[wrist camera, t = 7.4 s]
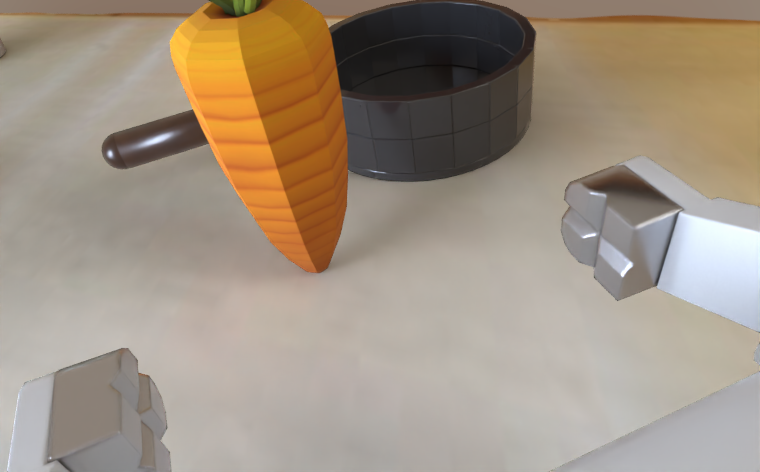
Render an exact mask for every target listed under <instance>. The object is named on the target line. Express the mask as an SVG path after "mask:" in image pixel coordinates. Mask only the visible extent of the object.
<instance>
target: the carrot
mask: <svg viewBox="0 0 760 472" xmlns="http://www.w3.org/2000/svg"><path fill="white" fill-rule="evenodd" d="M209 1H211V2H208V3H206V4H204V5H203V6H202V7H201V8H200V9H198V10H197V11H196V12H195V13H194V14H192V15H191V16H190V17H189V18H188V19H186V20H185V21H184V22H183V23H182V24H181V25H180V26H179V27H178V28H177V29H176V31H175V33H174V35H173V37H172V39H171V41H170V49H171V57H172V60H173V63H174V67H175V69H176V72H177V74H178V76H179V78H180V81H181V83H182V85H183V87H184V90H185V92H186V94H187V96H188V99H189V101H190V103H191V106H192V108H193V110H194V112H195V115H196V117H197V119H198V121H199V123H200V126H201V128H202V130H203V132H204V134H205V136H206V138H207V140H208V142H209V144H210V146H211V149H212V151H213V153H214V155H215V157H216V159H217V161H218V163H219V165H220V167H221V168H222V170H223V172H224V173H225V175H226V176H227V178H228V180H229V181H230V183H231V184H232V186H233V188H234V189H235V191H236V192H237V194H238V195H239V197H240V198H241V200H242V201H243V203H244V204H245V206H246V207H247V209H248V210H249V211H250V213H251V214H252V216H253V217H254V219H255V220H256V222H257V223H258V224H259V226H260V227H261V229H262V230H263V232H264V233H265V235H266V236H267V237H268V239H269V240H270V242H271V243H272V244H273V245H274V246H275V247H276V248H277V249H278V250H279V251H280V252H281V253H282V254H284V255H285V256H286V257H287V258H288V259H289V260H290V261H292V262H293V263H295V264H296V265H298V266H299V267H301V268H302V269H304V270H305V271H307V272H313V273H320V272H322V271H324V270H325V269H327V268H328V266H329V263H330V261H331V258H332V256H333V253H334V250H335V248H336V245H337V242H338V240H339V237H340V234H341V230H342V225H343V221H344V216H345V212H346V207H347V183H348V151H347V134H346V126H345V119H344V112H343V105H342V97H341V90H340V85H339V79H338V73H337V67H336V61H335V55H334V49H333V44H332V38H331V34H330V31H329V28H328V25H327V23H326V21H325V19H324V17H323V15H322V13H320V12H319V11H318V10H316V9H315V8H313V7H312V6H311V5H309V4H308V3H306V2H304V1H303V0H209Z"/></svg>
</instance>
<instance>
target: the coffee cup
mask: <svg viewBox="0 0 760 472" xmlns="http://www.w3.org/2000/svg"><path fill="white" fill-rule="evenodd" d="M5 50H6V49H5V47H4V45H3V43H2V41H1V39H0V57H1V56H2V55H3V54H4V53H5Z"/></svg>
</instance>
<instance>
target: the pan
mask: <svg viewBox="0 0 760 472" xmlns="http://www.w3.org/2000/svg"><path fill="white" fill-rule="evenodd" d="M329 31H330V34H331V38H332V44H333V49H334V55H335V61H336V67H337V73H338V79H339V85H340V90H341V97H342V105H343V112H344V119H345V126H346V134H347V151H348V170H350V171H352V172H354V173H357V174H361V175H364V176H367V177H372V178H377V179H382V180H391V181H425V180H433V179H441V178H446V177H451V176H455V175H459V174H463V173H466V172H469V171H472V170H475V169H477V168H480V167H482V166H485V165H487V164H489V163H491V162H493V161H495V160H497V159H498V158H500V157H501V156H503V155H504V154H506V153H507V152H509V151H510V150H511V149H512V148H513V147H514V146H516V145H517V144H518V143H519V141H520V140H521V139H522V138H523V137H524V135H525V133H526V131H527V130H528V128H529V124H530V121H531V111H532V102H533V85H534V67H535V50H536V31H535V30H534V28H533V27H532V25H531V24H530V22H529V21H528V19H527V18H526V17H524V16H522V15H520V14H519V13H517V12H515V11H513V10H511V9H509V8H507V7H504V6H500V5H496V4H492V3H489V2H485V1H479V0H415V1H409V2H403V3H396V4H390V5H386V6H383V7H379V8H376V9H372V10H369V11H365V12H362V13H358V14H356V15H354V16H352V17H349V18H347V19H345V20H343V21H340V22H338V23H336V24H334V25H332V26H331V27H329Z"/></svg>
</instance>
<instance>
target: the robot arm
mask: <svg viewBox="0 0 760 472" xmlns="http://www.w3.org/2000/svg"><path fill="white" fill-rule="evenodd" d="M564 200H565V201H566V203H567V204H568V205H569V206H570V207H569V208H568V210H567V211H566V213H565V214H564V216H563V217H562V225H561V233H562V236H563V240H564V243H565V245H566V247H567V248H568V250H569V252H570V253H571V255H572V256H573V257H574V258H575V259H576V260H577V261H578V262H579V263H582V264H585V265H588V266H591V267H594V278H595V279H596V280H597V281H598V282H599V283H600V284H601V285H602V286H603V287H604V288H605V289H606V290H607V291H608V292H609V293H610V294H611V295H612V296H613V297H614V298H615V299H616V300H617V301H619V300H621V299H624V298H627V297H629V296H632V295H634V294H637V293H639V292H642V291H644V290H647V289H650V288H652V287H655V286H657V288H658V289H660V290H662V291H664V292H667V293H669V294H671V295H674V296H676V297H678V298H681V299H683V300H685V301H688V302H690V303H692V304H695V305H697V306H699V307H701V308H704V309H706V310H708V311H711V312H713V313H715V314H718V315H720V316H722V317H725V318H727V319H729V320H732V321H734V322H736V323H739V324H741V325H743V326H745V327H748V328H750V329H752V330H755V331H757V332H759V333H760V207H759V206H755V205H750V204H746V203H741V202H737V201H732V200H728V199H723V198H719V197H717V198H714V199H711V200H710V199H709V198H707V197H706V196H704V195H703V194H701V193H700V192H698V191H697V190H695V189H694V188H693V187H691V186H690V185H688V184H687V183H685V182H684V181H682V180H681V179H679V178H678V177H676V176H675V175H674V174H672V173H671V172H669V171H668V170H666V169H665V168H663V167H662V166H660V165H659V164H657V163H656V162H655V161H653V160H652V159H650V158H648V157H645V156H637V157H634V158H632V159H629V160H627V161H624V162H621V163H619V164H616V165H615V166H611V167H608V168H606V169H603V170H601V171H598V172H595V173H593V174H590V175H587V176H585V177H582V178H580V179H577V180H574V181H572V182H570V183H569V184H568V186H567V187H566V189H565V196H564ZM754 361H755V362H757V363H758V364H759V365H760V343H759V344H758V346H757V348H756V350H755V352H754ZM166 430H167V420H166V412H165V408H164V405H163V401H162V398H161V395H160V393H159V391H158V389H157V387H156V385H155V383H154V382H153V380H152V379H151V378H150V376H148V375H145V374H141V373H138V360H137V359H136V358H135V356H134V355H133V354H132V353H131V351H130V350H129V349H128V348H121V349H118V350H115V351H112V352H109V353H106V354H104V355H101V356H98V357H95V358H92V359H89V360H86V361H83V362H80V363H77V364H74V365H72V366H69V367H66V368H63V369H60V370H59V371H56V372H53V373H50V374H48V375H45V376H42V377H39V378H36V379H33V380H30V381H27V382H25V383H24V385H23V386H22V388H21V389H20V391H19V395H18V402H17V408H16V415H15V422H14V428H13V435H12V442H11V449H10V455H9V462H8V469H7V472H171V461H170V452H169V450H168V449H167V448H166V447H165V445H164V444H163V443H162V442H161V439H162V437H163V435H164V433H165V431H166ZM549 472H760V371H759V372H757V373H755V374H753V375H751V376H748V377H746V378H744V379H742V380H740V381H738V382H736V383H734V384H732V385H730V386H727V387H725V388H723V389H721V390H719V391H717V392H715V393H713V394H711V395H709V396H706V397H704V398H702V399H700V400H698V401H696V402H694V403H692V404H690V405H688V406H685V407H683V408H681V409H679V410H677V411H675V412H673V413H671V414H669V415H667V416H664V417H662V418H660V419H658V420H656V421H654V422H652V423H650V424H648V425H646V426H643V427H641V428H639V429H637V430H635V431H633V432H631V433H629V434H627V435H625V436H622V437H620V438H618V439H616V440H614V441H612V442H610V443H608V444H606V445H604V446H602V447H599V448H597V449H595V450H593V451H591V452H589V453H587V454H585V455H583V456H581V457H578V458H576V459H574V460H572V461H570V462H568V463H566V464H564V465H562V466H560V467H557V468H555V469H553V470H551V471H549Z"/></svg>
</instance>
